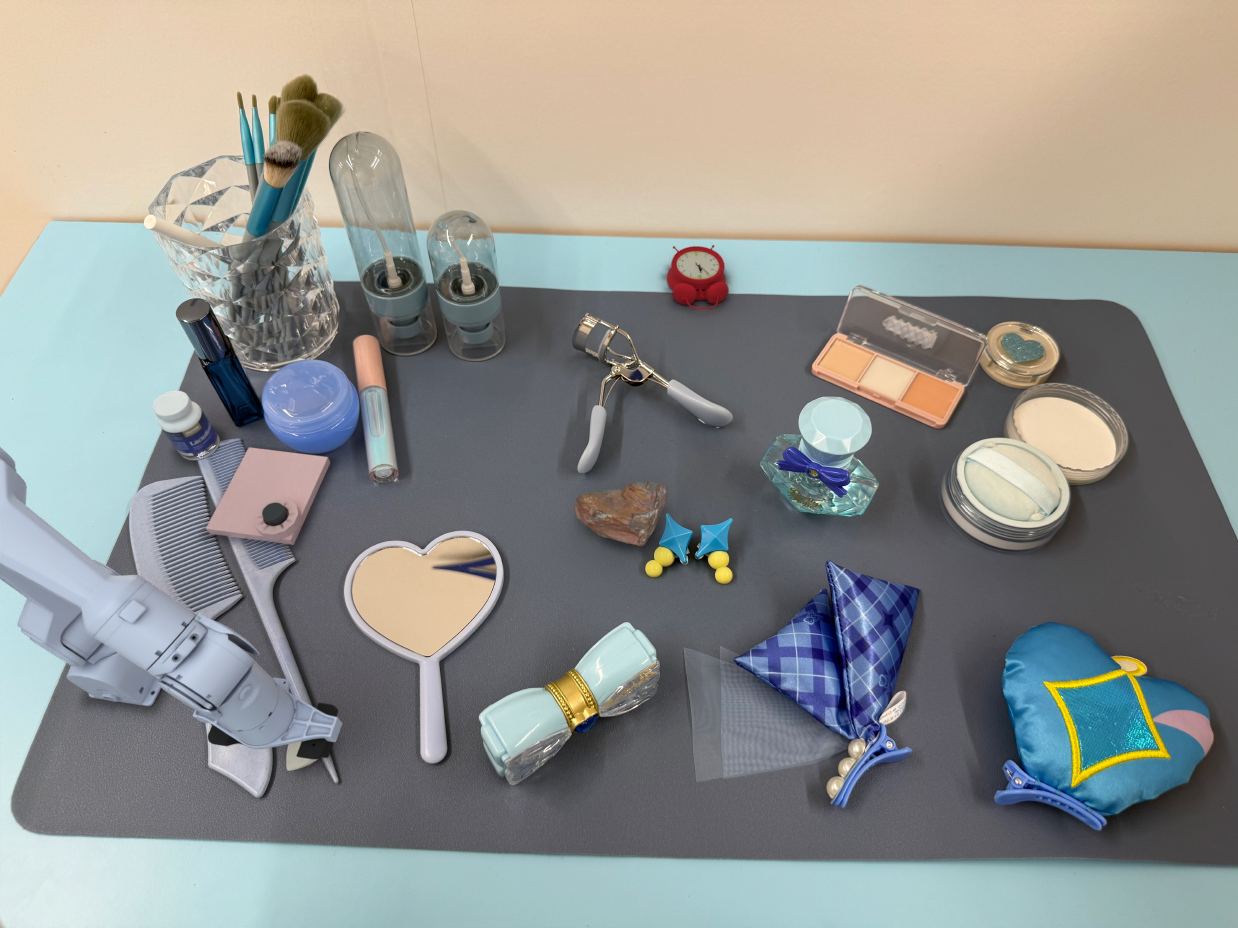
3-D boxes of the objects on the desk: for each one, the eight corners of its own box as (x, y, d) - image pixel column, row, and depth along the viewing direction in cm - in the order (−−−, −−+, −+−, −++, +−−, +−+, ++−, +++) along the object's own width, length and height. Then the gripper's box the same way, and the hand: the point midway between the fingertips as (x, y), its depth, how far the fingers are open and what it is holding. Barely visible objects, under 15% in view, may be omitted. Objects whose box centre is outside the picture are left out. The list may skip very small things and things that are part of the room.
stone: (662, 504, 109) (666, 463, 101) (674, 556, 104) (679, 517, 96) (573, 515, 108) (571, 475, 100) (581, 569, 103) (579, 530, 95)
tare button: (282, 527, 103) (278, 521, 102) (262, 524, 103) (258, 518, 102) (290, 509, 105) (286, 503, 103) (271, 507, 105) (267, 500, 104)
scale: (295, 547, 104) (287, 536, 102) (208, 536, 105) (199, 524, 103) (333, 462, 112) (327, 450, 110) (252, 452, 113) (244, 440, 111)
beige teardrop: (336, 744, 89) (329, 737, 87) (305, 783, 86) (298, 777, 84) (308, 725, 90) (301, 718, 88) (277, 763, 88) (269, 756, 86)
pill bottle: (208, 464, 112) (177, 421, 104) (172, 458, 113) (139, 415, 105) (228, 434, 115) (199, 390, 107) (193, 428, 116) (162, 384, 108)
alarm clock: (722, 240, 138) (737, 280, 126) (719, 272, 142) (734, 314, 130) (664, 242, 137) (674, 283, 126) (663, 274, 141) (673, 316, 130)
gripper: (335, 672, 76) (370, 716, 87) (195, 652, 77) (247, 698, 88) (308, 744, 72) (348, 781, 83) (161, 722, 73) (220, 761, 84)
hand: (295, 743), depth 85 cm, fingers open, 7 cm apart
